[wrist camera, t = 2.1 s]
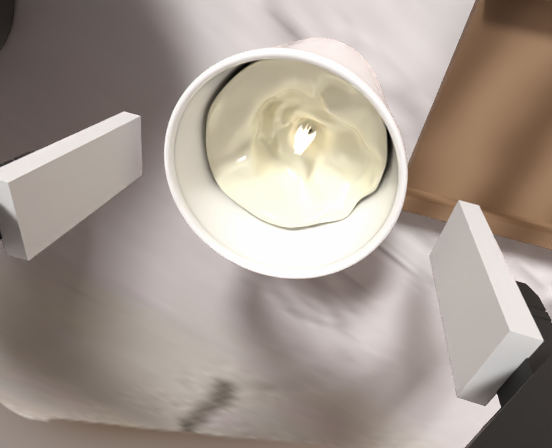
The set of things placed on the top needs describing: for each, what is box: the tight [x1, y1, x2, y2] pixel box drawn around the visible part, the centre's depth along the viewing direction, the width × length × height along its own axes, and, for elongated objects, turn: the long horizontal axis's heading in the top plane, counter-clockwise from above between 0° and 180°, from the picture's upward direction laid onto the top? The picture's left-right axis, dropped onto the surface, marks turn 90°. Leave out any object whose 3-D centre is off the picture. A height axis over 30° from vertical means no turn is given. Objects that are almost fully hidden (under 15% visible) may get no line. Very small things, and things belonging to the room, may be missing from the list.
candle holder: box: [164, 37, 408, 279], centre depth 20 cm, size 10×10×12 cm
